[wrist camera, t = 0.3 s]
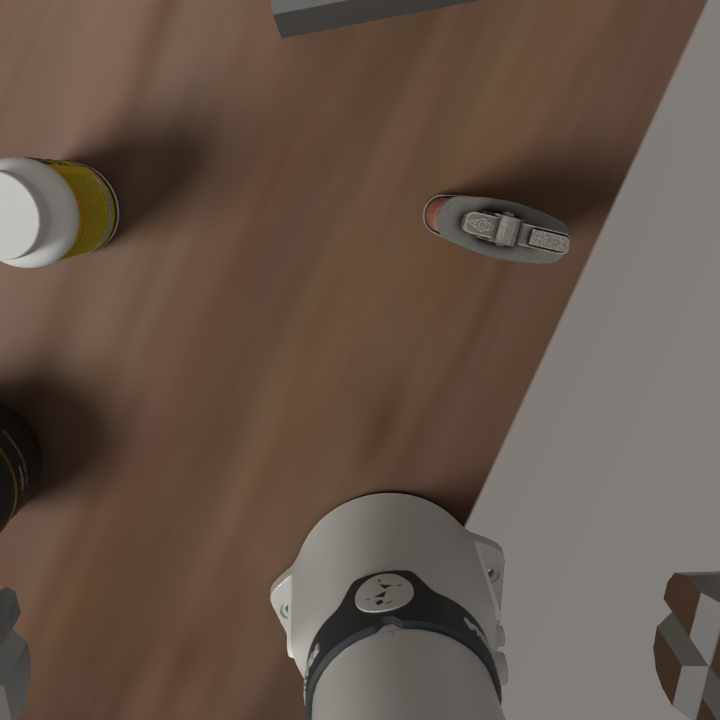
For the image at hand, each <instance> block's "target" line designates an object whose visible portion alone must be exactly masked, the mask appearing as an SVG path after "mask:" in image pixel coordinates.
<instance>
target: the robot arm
mask: <svg viewBox="0 0 720 720" xmlns="http://www.w3.org/2000/svg"><path fill="white" fill-rule="evenodd" d="M487 568H491V569H492V570H491V571H490V572H487ZM503 572H504V556H503V553H502V549H501V547H500V546H499V545H498V544H496V543H495V542H494V541H492V540H490V539H487V538H485V537H482V536H480V535H477V534H474V533H471V532H469V531H468V530H467V529H465V528H464V527H463V526H462V525H461V524H460V523H459V522H458V521H457V520H456V519H455V518H454V517H453V516H451V515H450V514H449V513H448V512H447V511H445V510H444V509H442V508H441V507H439V506H437V505H436V504H434V503H432V502H430V501H427V500H425V499H422V498H419V497H416V496H412V495H407V494H399V493H380V494H372V495H367V496H363V497H360V498H357V499H354V500H351V501H349V502H347V503H344V504H343V505H341V506H339V507H337V508H336V509H334V510H333V511H331V512H330V513H328V514H327V515H326V516H325V517H324V518H322V519H321V520H320V521H319V522H318V523H317V525H316V526H315V527H314V528H313V529H312V531H311V532H310V533H309V535H308V537H307V538H306V540H305V542H304V544H303V546H302V548H301V550H300V553H299V555H298V557H297V559H296V561H295V562H294V564H293V565H292V566H291V567H290V568H289V569H287V570H286V571H285V572H284V573H283V574H282V575H281V576H280V577H279V578H278V579H277V580H276V581H275V582H274V583H273V585H272V587H271V590H270V598H271V603H272V605H273V607H274V609H275V611H276V613H277V615H278V617H279V619H280V621H281V623H282V625H283V627H284V629H285V631H286V633H287V650H288V655H289V657H292V658H294V659H295V662H296V664H297V667H298V669H299V670H300V672H301V674H302V676H303V677H304V700H305V708H306V718H307V720H506V719H505V717H504V714H503V711H502V708H501V700H502V698H501V685H505V684H507V682H508V670H507V663H506V658H505V655H504V653H501V652H497V647H498V646H504V644H505V635H504V630H503V627H502V626H499V622H500V610H501V596H502V585H503ZM664 600H665V601H666V603H667V605H668V606H669V608H670V609H671V611H672V613H671V614H670V615H669V616H668V617H666V618H665V619H664V621H662V622H661V624H659V625H658V626H657V630H656V636H655V642H654V647H653V649H654V656H655V665H656V671H657V674H658V677H659V679H660V682H661V685H662V688H663V690H664V691H665V693H666V695H667V697H668V699H669V701H670V702H671V704H672V706H673V707H675V708H676V709H678V710H679V711H680V712H682V713H683V714H685V715H686V716H687V717H689V718H690V719H691V720H720V572H692V573H691V572H688V573H674V574H673V576H672V577H671V578H670V580H669V581H668V583H667V587H666V591H665V595H664ZM287 605H288V607H287ZM20 614H21V612H20V608H19V604H18V601H17V597H16V593H15V591H13V590H11V589H10V588H8V587H0V720H17V718H18V716H19V714H20V711H21V709H22V707H23V705H24V702H25V697H26V693H27V689H28V685H29V681H30V655H29V649H28V644H27V642H26V641H25V640H24V639H23V638H22V637H20V636H19V635H18V634H17V633H16V632H15V631H14V630H13V629H12V628H13V626H14V624H15V623H16V621H17V619H18V617H19V616H20Z"/></svg>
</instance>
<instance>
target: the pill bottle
mask: <svg viewBox="0 0 720 720" xmlns="http://www.w3.org/2000/svg"><path fill="white" fill-rule="evenodd" d="M118 222H119V204H118V200H117V196H116V194H115V192H114V190H113V188H112V186H111V185H110V183H109V182H108V181H107V180H106V179H105V177H103V176H102V175H101V174H100V173H99V172H98V171H96V170H95V169H93V168H91V167H89V166H87V165H84V164H81V163H78V162H73V161H65V160H52V159H40V158H28V157H9V158H3V159H0V261H2V262H4V263H6V264H9V265H12V266H16V267H22V268H35V267H42V266H47V265H50V264H54V263H57V262H61V261H64V260H68V259H72V258H75V257H79V256H83V255H86V254H89V253H92V252H94V251H97V250H99V249H100V248H102V247H103V246H104V245H106V244H107V243H108V242H109V241H110V240H111V238H112V237H113V235H114V233H115V231H116V229H117V226H118Z"/></svg>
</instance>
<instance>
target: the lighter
mask: <svg viewBox="0 0 720 720" xmlns="http://www.w3.org/2000/svg"><path fill="white" fill-rule="evenodd" d="M422 221H423V224H424V226H425V227H426V229H428V230H429V231H430V232H432V233H435V234H437V235H439V236H441V237H443V238H445V239H447V240H449V241H451V242H453V243H456V244H458V245H460V246H462V247H464V248H467V249H469V250H471V251H474V252H477V253H480V254H484V255H487V256H490V257H493V258H497V259H503V260H509V261H516V262H522V263H552V262H555V261H557V260H559V259H560V258H561V257H562V256H563V255H564V254H565V253H566V252H567V251H568V249H569V247H570V243H571V238H570V236H569V230H568V228H567V226H566V225H565V224H564V223H563V222H562V221H560V220H558V219H556V218H554V217H552V216H550V215H548V214H545V213H543V212H541V211H539V210H537V209H534V208H530V207H527V206H524V205H521V204H518V203H515V202H511V201H505V200H499V199H493V198H487V197H470V196H463V195H435V196H433V197H431V198H429V199H428V201H427V202H426V203H425V205H424V207H423V210H422Z"/></svg>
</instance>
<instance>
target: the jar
mask: <svg viewBox="0 0 720 720" xmlns="http://www.w3.org/2000/svg"><path fill="white" fill-rule="evenodd" d="M40 470H41V454H40V449H39V445H38V442H37V440H36V438H35V436H34V434H33V432H32V431H31V429H30V428H29V426H28V425H27V424H26V423H25V422H24V420H23V419H21V418H20V417H19V416H18V415H17V414H16V413H14V412H13V411H12V410H10V409H8V408H7V407H5V406H3V405H1V404H0V532H1V531H2V530H3V529H4V528H5V527H6V525H7V524H8V523H9V521H10V520H11V519H12V518H13V517H14V516H15V515H16V514H17V512H18V511H19V510H20V509H21V508H22V507H23V506H24V505H25V504H26V502H27V501H28V500H29V498H30V497H31V495H32V493H33V491H34V489H35V486H36V484H37V481H38V478H39V475H40Z"/></svg>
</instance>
